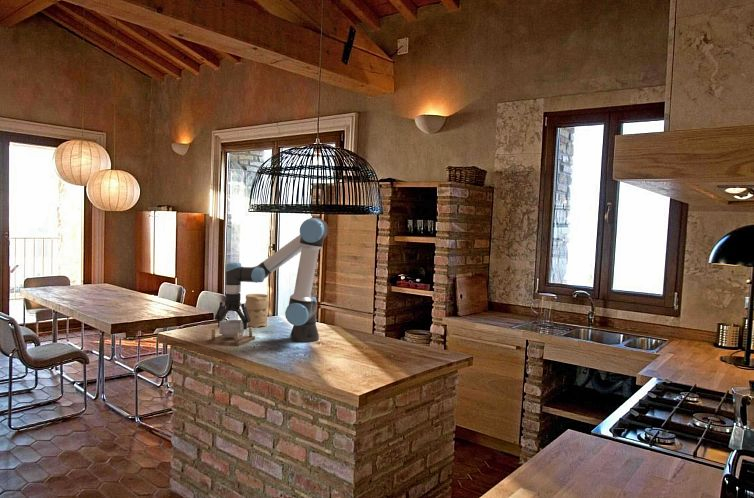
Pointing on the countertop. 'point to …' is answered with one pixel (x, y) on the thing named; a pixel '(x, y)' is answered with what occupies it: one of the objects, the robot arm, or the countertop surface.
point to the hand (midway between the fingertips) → (232, 334)
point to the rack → (232, 339)
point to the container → (257, 309)
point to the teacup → (230, 327)
